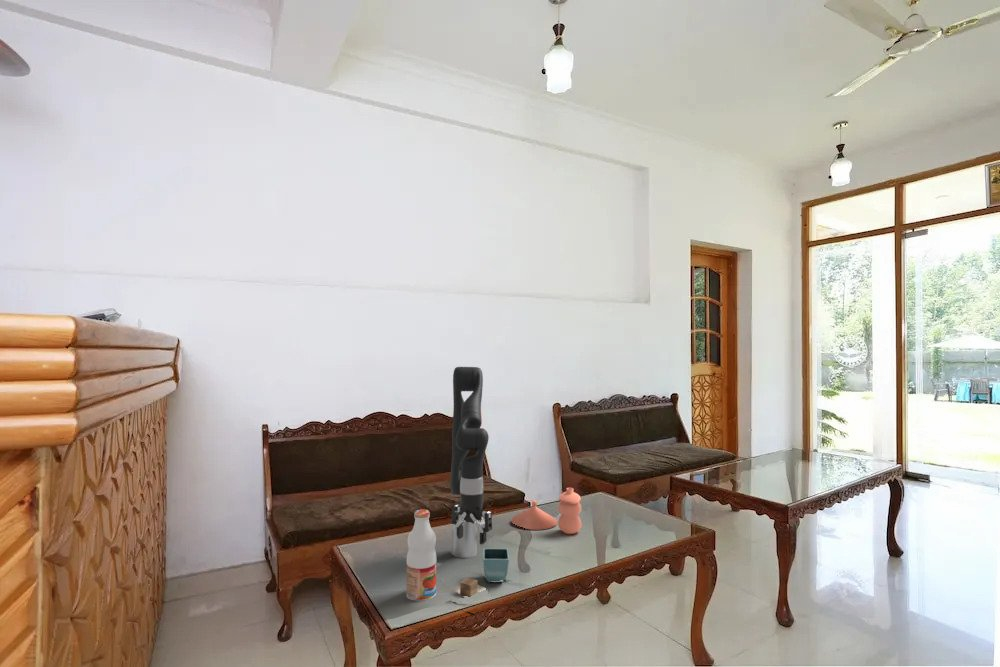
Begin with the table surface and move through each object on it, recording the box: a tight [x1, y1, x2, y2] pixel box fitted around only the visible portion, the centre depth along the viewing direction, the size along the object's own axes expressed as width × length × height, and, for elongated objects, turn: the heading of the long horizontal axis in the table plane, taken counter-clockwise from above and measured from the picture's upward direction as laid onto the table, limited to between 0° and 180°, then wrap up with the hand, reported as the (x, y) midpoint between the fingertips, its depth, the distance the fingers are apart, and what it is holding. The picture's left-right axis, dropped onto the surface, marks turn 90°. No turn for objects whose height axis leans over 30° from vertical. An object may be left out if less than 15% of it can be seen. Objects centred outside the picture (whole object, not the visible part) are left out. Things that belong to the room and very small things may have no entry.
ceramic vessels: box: [511, 487, 582, 535], centre depth 222 cm, size 35×21×19 cm, turn 48°
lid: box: [452, 577, 487, 597], centre depth 158 cm, size 13×13×5 cm
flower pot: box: [482, 548, 510, 583], centre depth 170 cm, size 9×9×9 cm
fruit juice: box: [405, 509, 437, 601], centre depth 157 cm, size 9×9×28 cm
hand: (471, 540), depth 158 cm, fingers open, 8 cm apart
